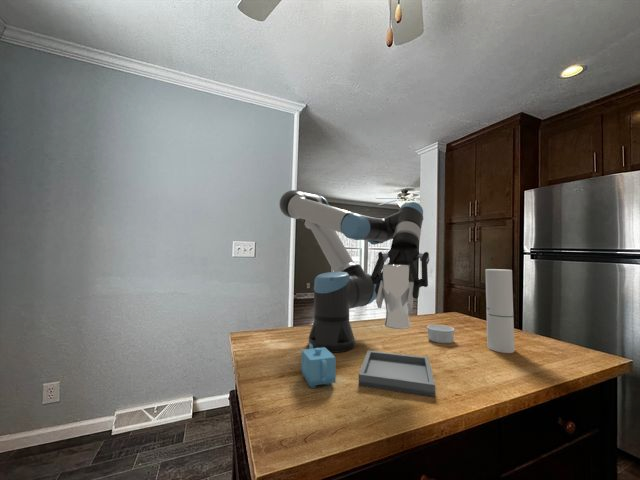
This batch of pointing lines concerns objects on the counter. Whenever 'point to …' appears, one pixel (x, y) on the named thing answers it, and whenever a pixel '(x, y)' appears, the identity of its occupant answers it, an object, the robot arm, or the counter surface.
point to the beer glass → (396, 295)
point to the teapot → (318, 366)
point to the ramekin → (440, 333)
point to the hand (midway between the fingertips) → (393, 306)
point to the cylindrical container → (499, 310)
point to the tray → (397, 373)
